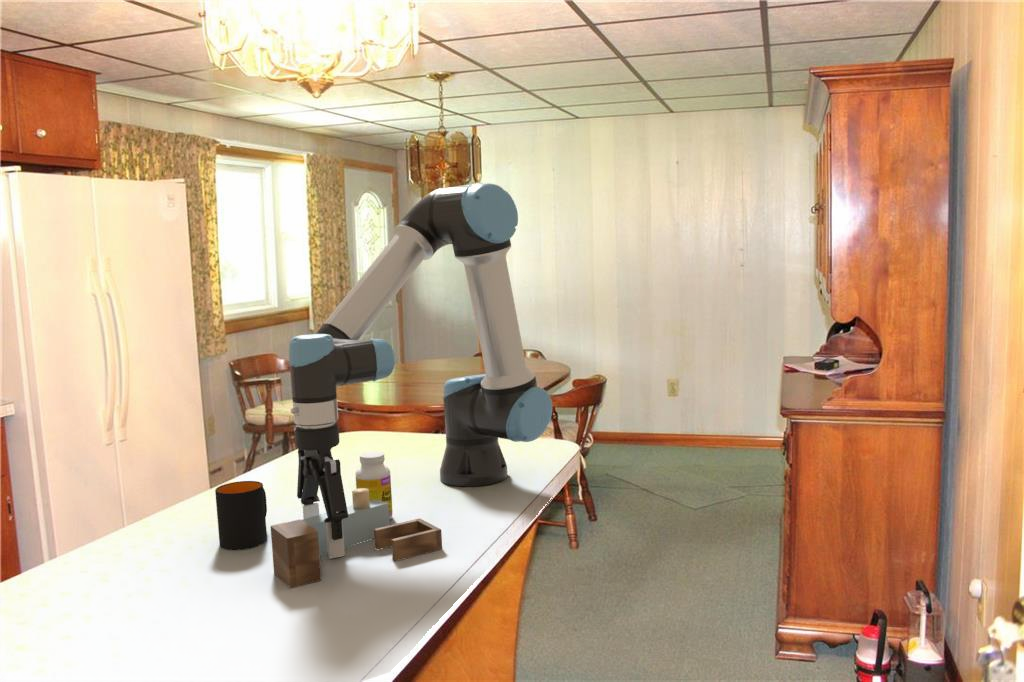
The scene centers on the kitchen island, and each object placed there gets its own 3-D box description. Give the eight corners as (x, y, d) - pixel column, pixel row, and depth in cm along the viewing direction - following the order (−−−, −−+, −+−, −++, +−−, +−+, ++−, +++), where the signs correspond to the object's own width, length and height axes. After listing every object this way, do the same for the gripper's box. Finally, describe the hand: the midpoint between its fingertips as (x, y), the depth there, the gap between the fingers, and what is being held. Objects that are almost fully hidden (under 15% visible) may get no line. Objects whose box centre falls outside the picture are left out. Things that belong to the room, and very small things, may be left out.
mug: (286, 529, 165) (282, 476, 164) (250, 551, 154) (245, 494, 153) (248, 527, 168) (244, 474, 167) (210, 548, 156) (205, 492, 155)
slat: (377, 530, 164) (374, 483, 163) (390, 534, 161) (387, 487, 160) (286, 558, 151) (282, 507, 150) (298, 563, 148) (294, 512, 147)
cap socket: (303, 565, 146) (300, 519, 145) (321, 580, 139) (317, 531, 138) (274, 573, 143) (270, 525, 142) (290, 588, 137) (287, 538, 136)
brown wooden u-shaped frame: (420, 537, 158) (419, 518, 158) (442, 549, 151) (441, 529, 151) (375, 548, 153) (373, 528, 153) (395, 561, 146) (393, 540, 146)
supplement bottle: (386, 525, 165) (382, 459, 164) (353, 524, 167) (348, 458, 165) (397, 514, 172) (393, 450, 170) (365, 513, 173) (361, 450, 172)
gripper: (273, 417, 159) (281, 535, 161) (319, 438, 140) (328, 571, 142) (313, 411, 163) (320, 527, 165) (363, 431, 144) (371, 561, 146)
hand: (324, 547), depth 154 cm, fingers open, 10 cm apart
